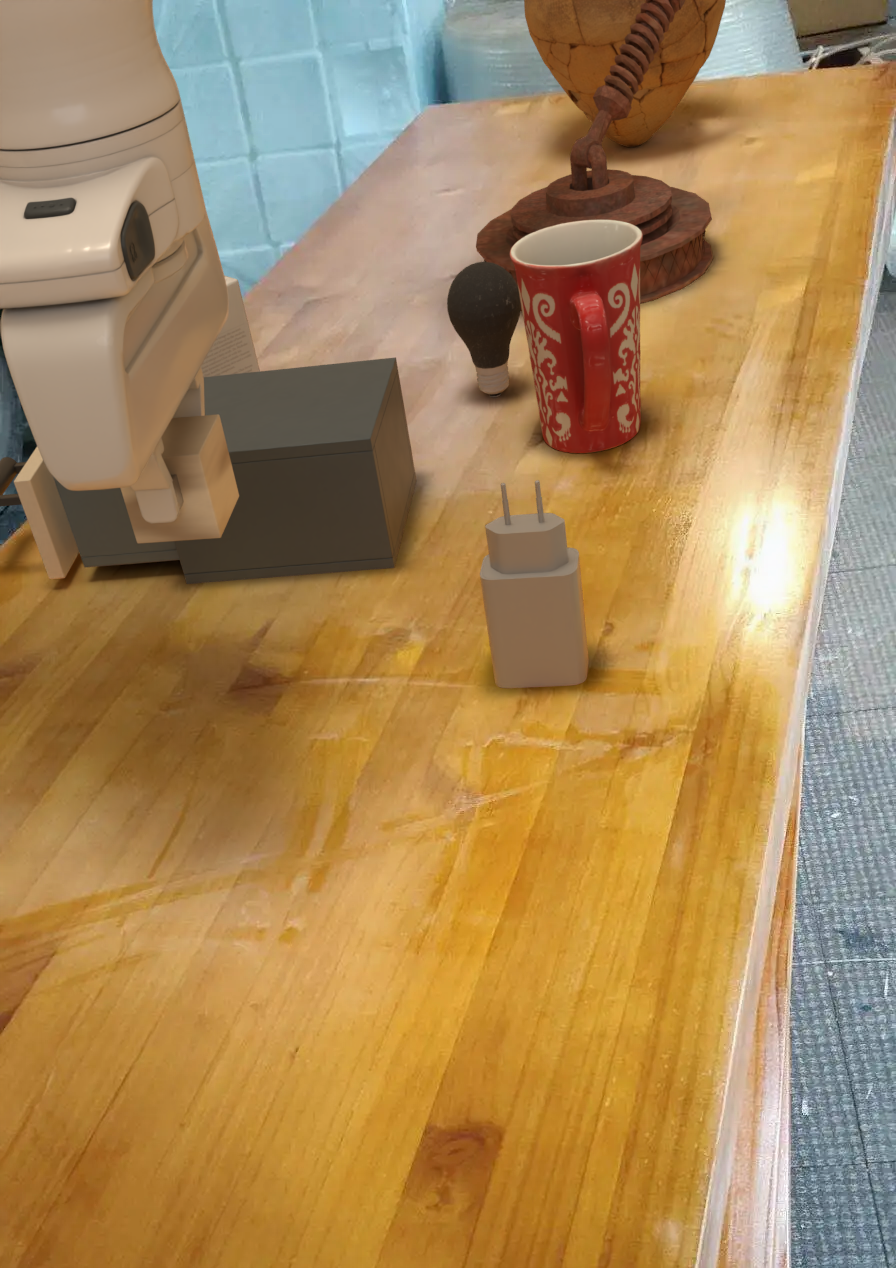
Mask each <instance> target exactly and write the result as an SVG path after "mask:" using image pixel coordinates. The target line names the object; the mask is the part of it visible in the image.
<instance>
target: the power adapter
mask: <svg viewBox="0 0 896 1268" xmlns="http://www.w3.org/2000/svg"><path fill="white" fill-rule="evenodd" d="M534 488H535V496H536V497H535V502H536V513H524V514H511V513H510V506H509V505H510V504H509V499H508V493H507V485H506V483H505V482H501V483H500V489H501V491H500V492H501V498H502V500H501V501H502V502H501V503H502V510H503V515H502V516H499V517H497V518H495V519H493V520H492V521H489V522H488V523H486V524H485V525H484V527H485V535H486V543H487V550H488V554H487V555H485V556H484V557H483V559H482V562H481V567H480V571H479V579H480V586H481V593H482V601H483V608H484V613H485V621H486V628H487V635H488V642H489V649H490V656H491V664H492V671H493V678H494V684H495V686H496V687H498V688H501V689H520V688H522V689H524V688H539V687H540V688H543V687H564V686H566V687H567V686H569V687H570V686H577V685H580V684H582V683H584V682H586V680H587V678H588V671H589V661H590V660H589V651H588V639H587V638H588V637H587V627H586V617H585V605H584V593H583V582H582V573H581V571H582V570H581V561H580V560H581V559H580V552H579V550H578V549H577V548H574V547H568V541H567V540H568V539H567V531H566V530H567V529H566V520H565V519H564V518H563V517H561V516H559V515H557V514H555V513H553V512H544V505H543V504H544V503H543V497H542V491H541V489H542V488H541V482H540V480H539V479H537V480H534Z"/></svg>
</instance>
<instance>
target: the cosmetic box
mask: <svg viewBox="0 0 896 1268" xmlns="http://www.w3.org/2000/svg"><path fill="white" fill-rule="evenodd" d="M224 277H225V281H226V285H227V292H228V318H227V321H226V322H225V324H224V326H223V327H222V329H221V331H220V333H219V335H218V337H217V338H216V340H215V342H214V344H213V346H212V347H211V349H210V351H209V353H208V355H207V356H206V358H205V360H204V362H203V364H202V365H201V369H202V373H203V377H211V376H221V375H231V374H240V373H250V372H260V371H261V369H260V365H259V361H258V358H257V357H258V356H257V353H256V349H255V345H254V341H253V336H252V332H251V328H250V324H249V320H248V316H247V311H246V308H245V307H246V306H245V303H244V300H243V295H242V291H241V287H240V286H241V285H240V284H239V280H238V279H236V278H234V277H232V276H229V275H225V274H224Z"/></svg>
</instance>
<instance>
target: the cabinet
mask: <svg viewBox="0 0 896 1268" xmlns="http://www.w3.org/2000/svg"><path fill="white" fill-rule="evenodd" d="M398 368H399V367H398V362H397V357H385V358H376V359H367V360H357V361H348V362H347V361H346V362H338V363H329V364H319V365H309V366H300V367H299V366H298V367H290V368H289V367H288V368H281V369H270V370H260V372H250V373H240V374H231V375H221V376H211V377H204V404H205V415H217V414H218V415H219V416H220V419H221V423H222V427H223V432H224V436H225V440H226V444H227V448H228V452H229V456H230V460H231V464H232V468H233V472H234V476H235V480H236V485H237V489H238V493H239V498H238V500H237V502H236V505H235V507H234V509H233V511H232V514H231V516H230V518H229V520H228V523H227V525H226V527H225V529H224V532H223V534H222V536H221V538H212V539H197V540H182V541H174V542H175V546H176V549H177V552H178V556H179V559H180V560H179V562H180V566H181V569H182V572H183V577H184V580H185V583H186V585H192V584H205V583H219V582H232V581H233V582H234V581H246V580H259V579H268V578H269V579H272V578H282V577H283V578H284V577H294V576H295V577H296V576H307V575H308V576H309V575H321V574H322V575H323V574H334V573H336V574H337V573H347V572H348V573H349V572H360V571H373V570H384V569H385V570H386V569H394V568H396V563H397V559H398V556H399V551H400V549H401V548H400V547H401V544H402V540H403V535H404V532H405V528H406V523H407V521H408V520H407V519H408V516H409V512H410V508H411V504H412V501H413V496H414V493H415V488H416V485H417V476H416V475H417V474H416V470H415V469H416V468H415V463H414V456H413V452H412V451H413V450H412V445H411V439H410V434H409V433H410V432H409V427H408V421H407V415H406V408H405V403H404V397H403V390H402V385H401V379H400V374H399V373H400V372H399V369H398Z"/></svg>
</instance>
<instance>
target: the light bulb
mask: <svg viewBox="0 0 896 1268" xmlns="http://www.w3.org/2000/svg"><path fill="white" fill-rule="evenodd" d="M446 298H447V299H446V308H447V313H448V314H447V315H448V317H449V321H450V323H451V325H452V327H453V329H454V331H455V333H457V335H458V336H459V338H460V339H461V341H462V342H463V343H464V345H465V346H466V349H468V352H469V354H470V358H471V361H472V363H473V365H474V368H475V372H476V377H477V378H476V380H477V386H478V388H479V390H480V392H482V393H484V394H487V395H488V396H489V397H490V398H497V397H500V396H501V395H502V393H503V392H504V391H505V390H506V389H507V388H508V387H509V386H510V382H509V380H510V373H509V366H508V365H509V364H508V363H509V357H510V347H511V342H512V338H513V336H514V333H515V330H516V327H517V325H518V323H519V320H520V316H521V312H522V311H521V302H520V296H519V289H518V286H517V284H516V281H515V280H514V278H513V277H512V276H511V274H510V273H509V272H508V271H506V270H505V269H504V268H503V267H501V266H499V265H497V264H494V263H491V262H484V261H479V262H475V263H471V264H469V265H467V266H465V267H464V268H463V269H462V270H460V271H459V272H458V273H457V275H455V277H454V279H453V280H452V282H451V284H450V287H449V289H448V294H447V297H446Z"/></svg>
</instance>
